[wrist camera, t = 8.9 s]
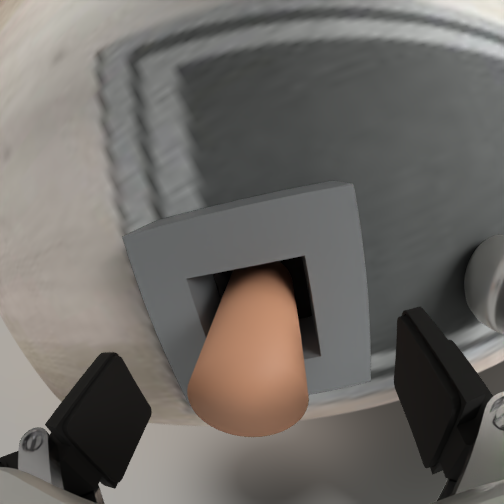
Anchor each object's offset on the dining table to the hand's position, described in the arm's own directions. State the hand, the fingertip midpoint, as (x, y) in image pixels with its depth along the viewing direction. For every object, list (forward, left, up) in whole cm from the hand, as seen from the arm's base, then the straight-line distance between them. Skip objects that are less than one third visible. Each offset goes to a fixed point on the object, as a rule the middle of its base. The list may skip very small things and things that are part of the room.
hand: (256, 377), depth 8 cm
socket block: (+1, 0, -10) cm, 10 cm away
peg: (+1, -1, -10) cm, 10 cm away
